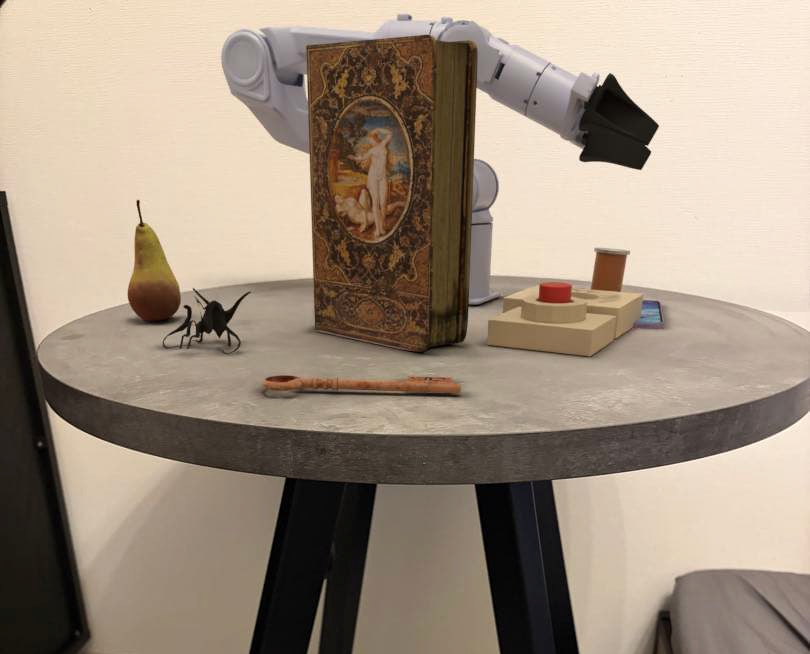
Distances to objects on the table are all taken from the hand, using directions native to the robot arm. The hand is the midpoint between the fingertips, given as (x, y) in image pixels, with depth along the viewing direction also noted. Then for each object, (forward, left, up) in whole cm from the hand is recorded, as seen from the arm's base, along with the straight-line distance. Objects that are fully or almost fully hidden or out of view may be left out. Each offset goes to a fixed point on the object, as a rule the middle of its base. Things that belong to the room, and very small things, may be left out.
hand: (649, 148), depth 93 cm
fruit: (-42, -32, -17) cm, 56 cm away
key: (-10, -46, -17) cm, 50 cm away
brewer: (-3, -12, -17) cm, 21 cm away
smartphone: (0, -3, -18) cm, 18 cm away
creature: (-29, -40, -17) cm, 52 cm away
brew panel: (-2, -22, -17) cm, 28 cm away
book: (-17, -28, -17) cm, 37 cm away
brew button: (-2, -22, -13) cm, 25 cm away
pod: (-4, +4, -17) cm, 18 cm away
